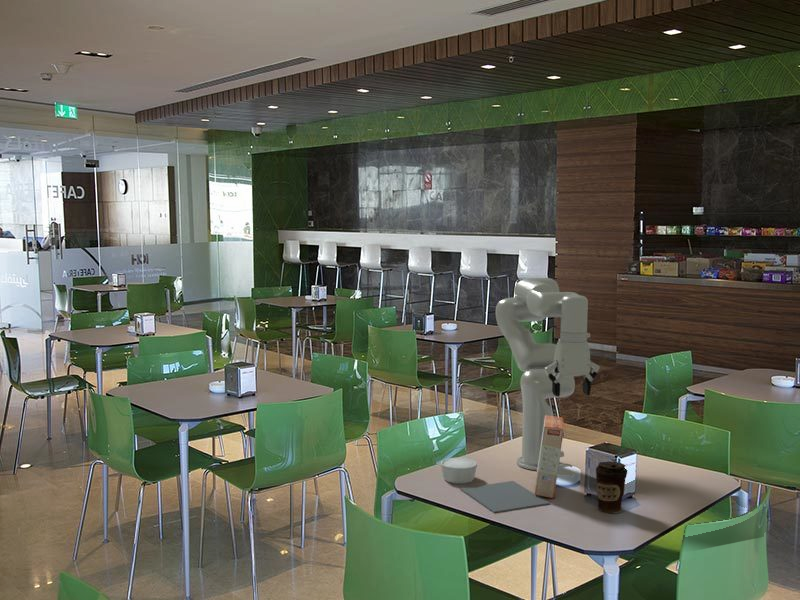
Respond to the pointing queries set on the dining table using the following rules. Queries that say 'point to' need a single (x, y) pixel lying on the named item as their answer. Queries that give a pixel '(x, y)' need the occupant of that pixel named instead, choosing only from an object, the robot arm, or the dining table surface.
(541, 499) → the rubber mat
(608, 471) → the coffee cup
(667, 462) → the dining table surface
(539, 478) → the cracker box
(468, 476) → the ramekin
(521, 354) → the robot arm
